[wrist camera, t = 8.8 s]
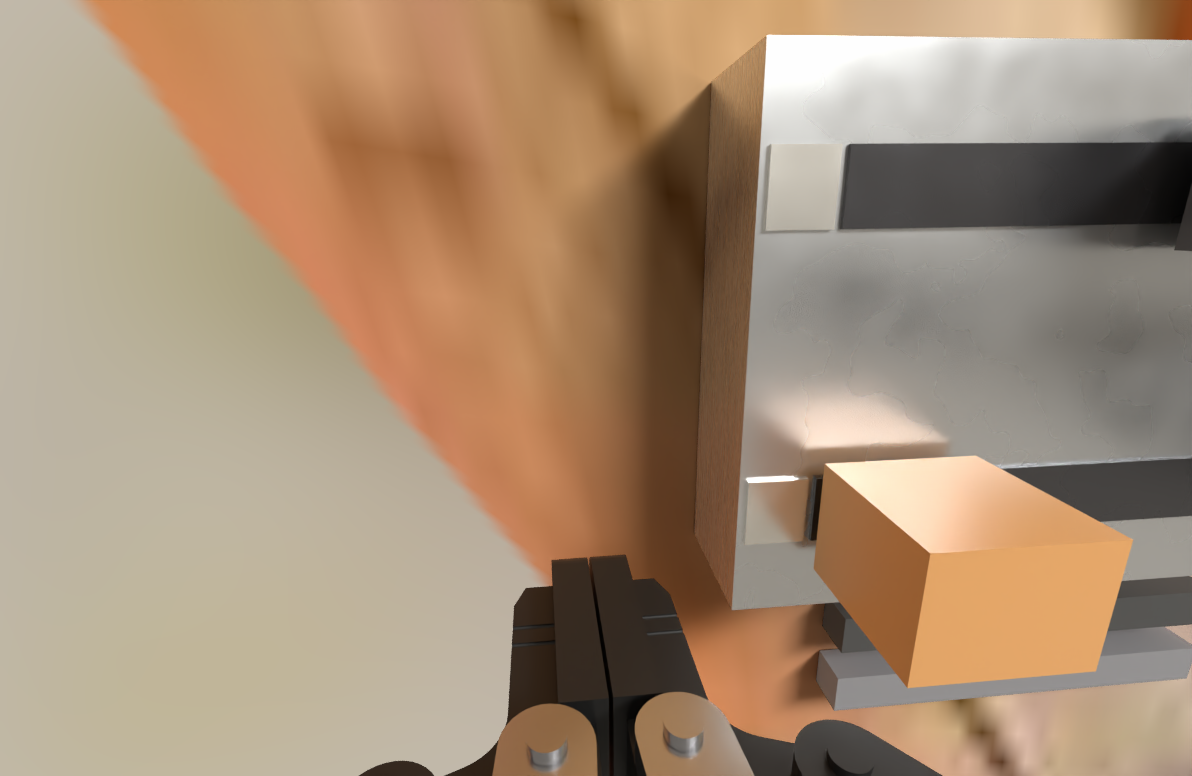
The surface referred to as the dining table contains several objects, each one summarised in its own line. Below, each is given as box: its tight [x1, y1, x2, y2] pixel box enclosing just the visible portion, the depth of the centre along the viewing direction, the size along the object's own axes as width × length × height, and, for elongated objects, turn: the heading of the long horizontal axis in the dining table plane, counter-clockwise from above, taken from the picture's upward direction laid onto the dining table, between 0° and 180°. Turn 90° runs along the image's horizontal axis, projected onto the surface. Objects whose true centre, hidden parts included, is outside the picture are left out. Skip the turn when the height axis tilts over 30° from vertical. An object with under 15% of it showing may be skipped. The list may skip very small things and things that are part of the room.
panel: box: [694, 35, 1192, 610], centre depth 16 cm, size 18×14×4 cm
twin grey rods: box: [816, 576, 1192, 711], centre depth 21 cm, size 14×4×1 cm, turn 91°
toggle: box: [814, 456, 1133, 688], centre depth 13 cm, size 4×3×4 cm
